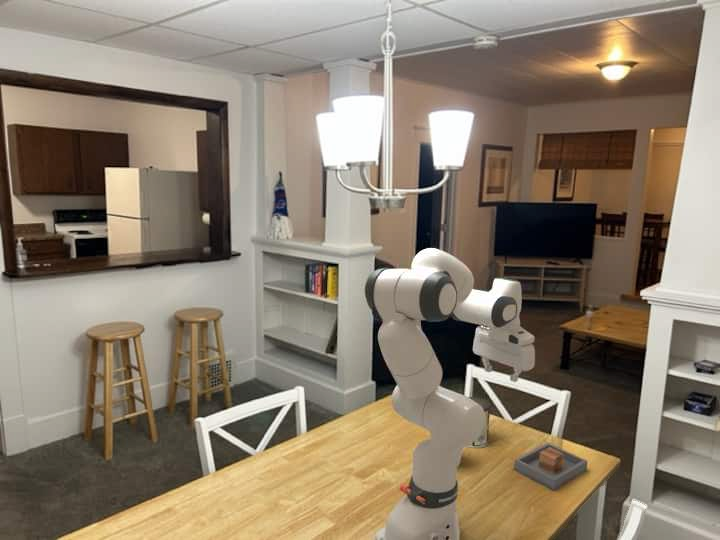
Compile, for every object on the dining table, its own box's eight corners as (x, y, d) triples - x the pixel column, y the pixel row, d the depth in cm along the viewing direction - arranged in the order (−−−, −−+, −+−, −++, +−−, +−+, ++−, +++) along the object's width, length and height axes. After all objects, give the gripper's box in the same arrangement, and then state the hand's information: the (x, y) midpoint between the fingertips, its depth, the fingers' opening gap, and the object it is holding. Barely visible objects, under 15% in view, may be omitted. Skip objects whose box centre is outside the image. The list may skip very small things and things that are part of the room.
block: (553, 473, 159) (554, 458, 158) (538, 466, 163) (539, 451, 162) (562, 468, 162) (563, 453, 161) (547, 461, 166) (549, 447, 165)
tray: (553, 491, 152) (554, 480, 151) (513, 469, 163) (514, 459, 162) (586, 471, 163) (587, 460, 162) (547, 452, 174) (547, 442, 173)
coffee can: (468, 430, 188) (470, 394, 186) (493, 440, 181) (496, 402, 179) (452, 440, 181) (453, 402, 178) (477, 451, 174) (480, 412, 171)
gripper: (469, 325, 160) (467, 368, 162) (526, 341, 144) (522, 389, 146) (483, 322, 163) (480, 364, 166) (539, 338, 147) (536, 384, 150)
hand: (500, 376), depth 156 cm, fingers open, 8 cm apart
